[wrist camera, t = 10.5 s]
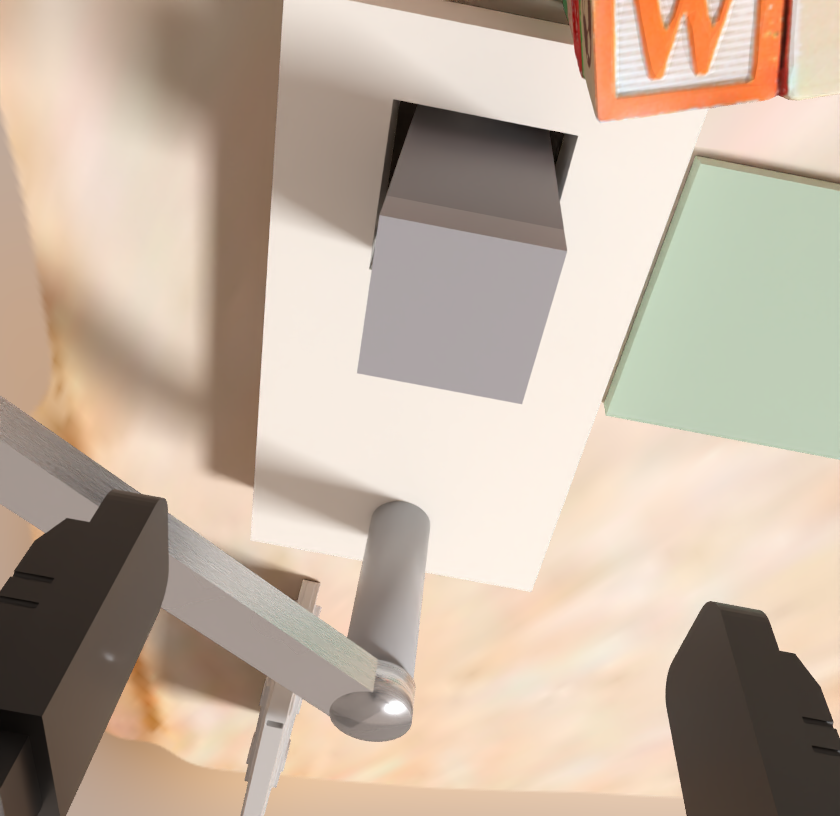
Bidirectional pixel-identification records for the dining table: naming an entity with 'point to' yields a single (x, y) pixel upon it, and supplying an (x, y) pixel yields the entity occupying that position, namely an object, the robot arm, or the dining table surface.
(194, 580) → the clip
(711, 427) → the mat
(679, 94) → the stack of blocks
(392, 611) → the socket block
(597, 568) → the dining table surface
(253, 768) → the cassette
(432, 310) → the plug
